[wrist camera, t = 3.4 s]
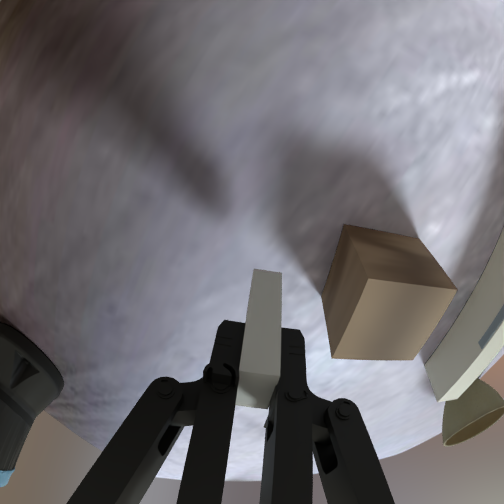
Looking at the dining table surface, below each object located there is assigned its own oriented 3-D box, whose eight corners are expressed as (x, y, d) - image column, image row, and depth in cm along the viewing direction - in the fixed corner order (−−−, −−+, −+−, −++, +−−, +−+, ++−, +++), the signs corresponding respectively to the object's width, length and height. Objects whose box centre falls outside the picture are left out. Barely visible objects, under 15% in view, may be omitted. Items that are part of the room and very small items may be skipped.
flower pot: (418, 408, 31) (429, 450, 24) (466, 363, 25) (485, 409, 19) (458, 406, 31) (469, 442, 25) (501, 366, 26) (518, 403, 20)
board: (423, 365, 25) (436, 402, 21) (522, 168, 14) (562, 192, 10) (443, 364, 25) (457, 398, 21) (539, 180, 14) (576, 204, 10)
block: (321, 295, 21) (331, 358, 16) (343, 223, 18) (368, 278, 13) (389, 303, 21) (412, 360, 16) (419, 238, 18) (457, 289, 13)
